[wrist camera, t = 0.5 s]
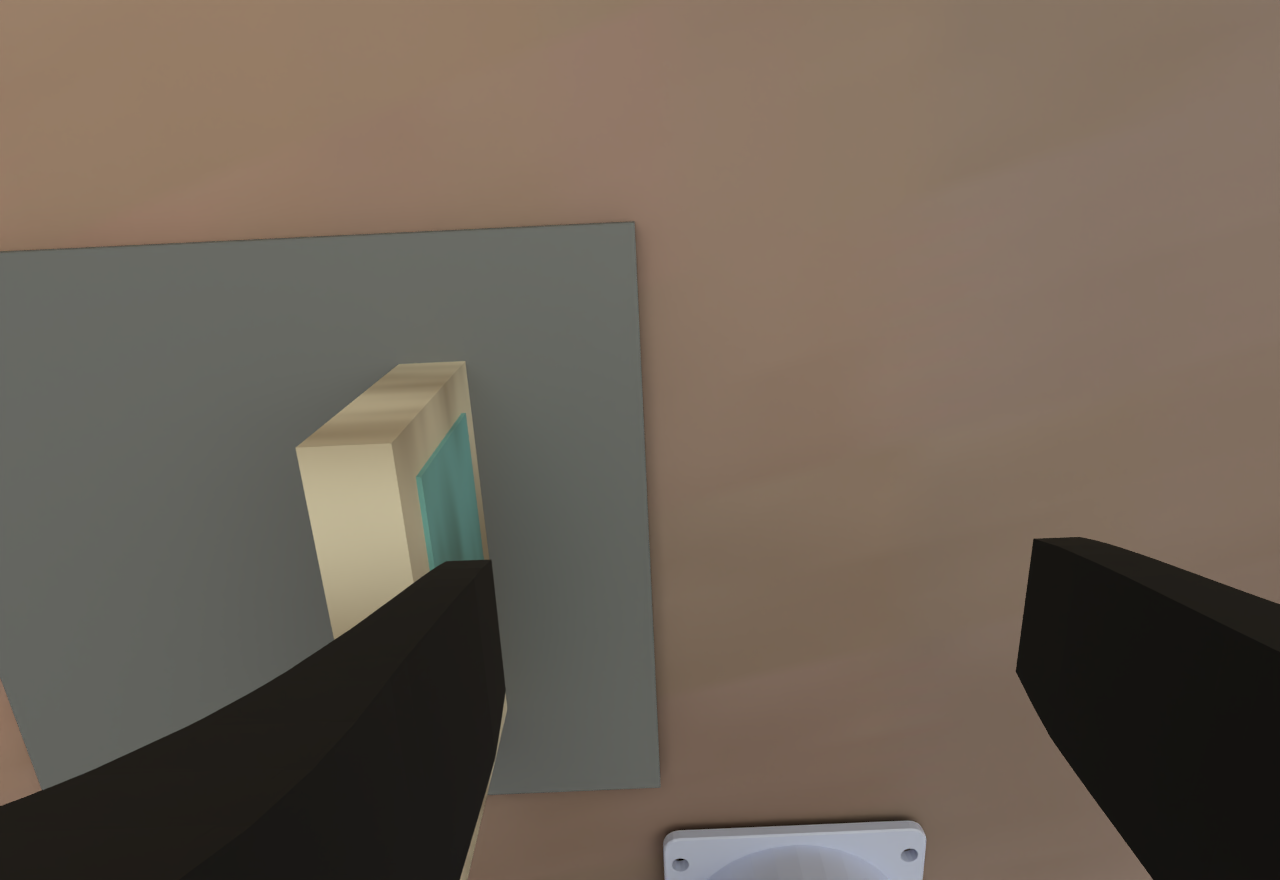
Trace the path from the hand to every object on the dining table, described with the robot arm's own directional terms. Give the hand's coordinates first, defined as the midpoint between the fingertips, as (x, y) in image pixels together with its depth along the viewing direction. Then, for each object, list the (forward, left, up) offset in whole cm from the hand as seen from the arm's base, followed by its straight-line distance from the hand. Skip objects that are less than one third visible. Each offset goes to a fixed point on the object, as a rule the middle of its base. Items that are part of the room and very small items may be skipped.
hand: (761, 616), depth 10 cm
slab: (-3, +6, -9) cm, 12 cm away
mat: (-3, +10, -10) cm, 15 cm away
